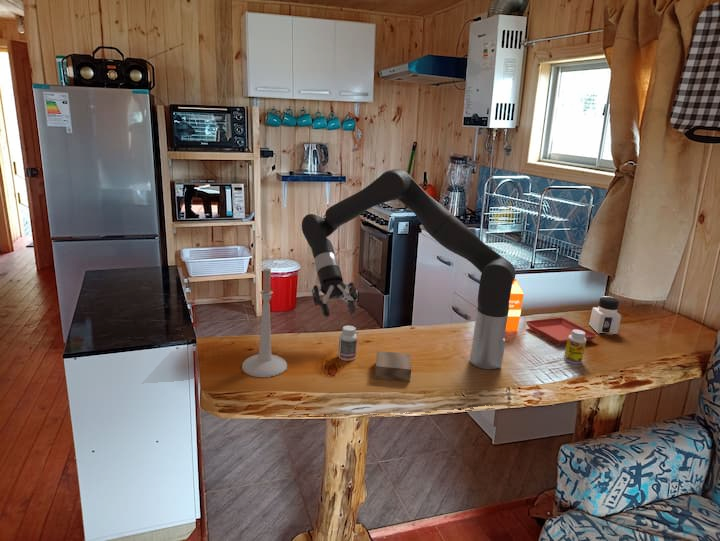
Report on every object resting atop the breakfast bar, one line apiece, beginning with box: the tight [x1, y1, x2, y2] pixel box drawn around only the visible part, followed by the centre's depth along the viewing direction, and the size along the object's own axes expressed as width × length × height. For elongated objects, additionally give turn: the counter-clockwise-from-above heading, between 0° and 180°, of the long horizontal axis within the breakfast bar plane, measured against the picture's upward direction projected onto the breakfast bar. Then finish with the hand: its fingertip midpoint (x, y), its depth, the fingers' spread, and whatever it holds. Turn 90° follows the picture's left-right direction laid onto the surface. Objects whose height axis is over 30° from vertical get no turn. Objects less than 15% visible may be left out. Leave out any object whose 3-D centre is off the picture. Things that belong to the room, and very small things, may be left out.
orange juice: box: [505, 278, 525, 332], centre depth 193 cm, size 8×9×20 cm
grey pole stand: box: [241, 267, 288, 378], centre depth 148 cm, size 13×13×30 cm
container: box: [588, 295, 622, 335], centre depth 198 cm, size 8×8×13 cm
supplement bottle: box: [563, 329, 587, 365], centre depth 171 cm, size 6×6×10 cm
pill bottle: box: [338, 325, 358, 362], centre depth 161 cm, size 5×5×10 cm
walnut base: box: [374, 350, 412, 383], centre depth 155 cm, size 10×10×4 cm
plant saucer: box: [525, 316, 598, 346], centre depth 192 cm, size 18×18×3 cm
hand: (340, 314), depth 165 cm, fingers open, 8 cm apart
